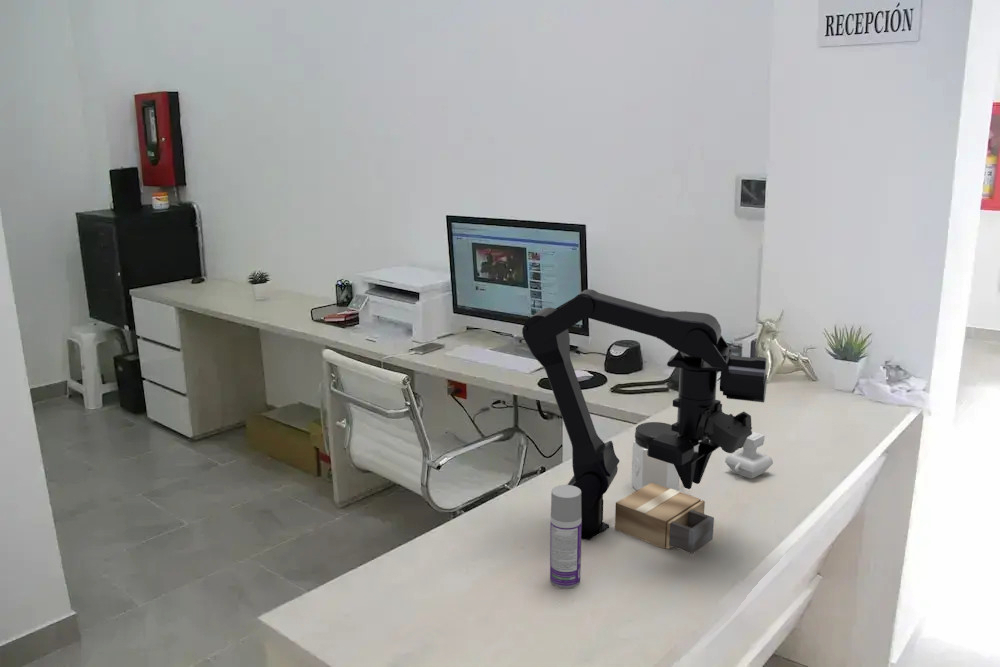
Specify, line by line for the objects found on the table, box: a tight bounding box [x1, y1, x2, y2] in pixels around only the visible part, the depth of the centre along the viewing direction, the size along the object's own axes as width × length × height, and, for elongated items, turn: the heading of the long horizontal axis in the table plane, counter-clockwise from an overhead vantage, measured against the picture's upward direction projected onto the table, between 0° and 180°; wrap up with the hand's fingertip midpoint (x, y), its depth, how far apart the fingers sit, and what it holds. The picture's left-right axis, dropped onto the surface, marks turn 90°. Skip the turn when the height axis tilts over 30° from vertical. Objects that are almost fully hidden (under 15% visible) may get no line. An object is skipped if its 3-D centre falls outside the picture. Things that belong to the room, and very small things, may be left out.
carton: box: [614, 482, 702, 549], centre depth 144 cm, size 11×10×5 cm
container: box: [549, 484, 582, 590], centre depth 127 cm, size 5×5×15 cm
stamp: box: [724, 431, 774, 479], centre depth 165 cm, size 9×7×8 cm
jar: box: [630, 421, 680, 491], centre depth 158 cm, size 9×8×12 cm
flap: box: [665, 500, 715, 555], centre depth 139 cm, size 11×5×5 cm, turn 137°
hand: (691, 485), depth 135 cm, fingers open, 2 cm apart
